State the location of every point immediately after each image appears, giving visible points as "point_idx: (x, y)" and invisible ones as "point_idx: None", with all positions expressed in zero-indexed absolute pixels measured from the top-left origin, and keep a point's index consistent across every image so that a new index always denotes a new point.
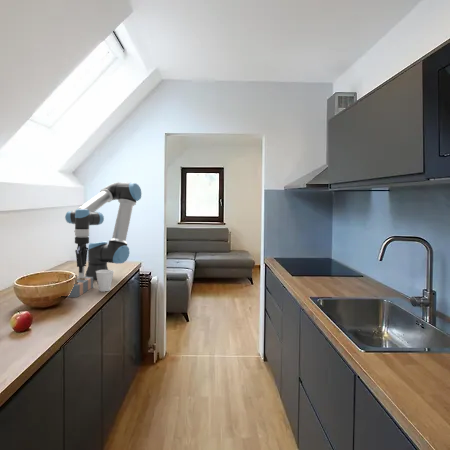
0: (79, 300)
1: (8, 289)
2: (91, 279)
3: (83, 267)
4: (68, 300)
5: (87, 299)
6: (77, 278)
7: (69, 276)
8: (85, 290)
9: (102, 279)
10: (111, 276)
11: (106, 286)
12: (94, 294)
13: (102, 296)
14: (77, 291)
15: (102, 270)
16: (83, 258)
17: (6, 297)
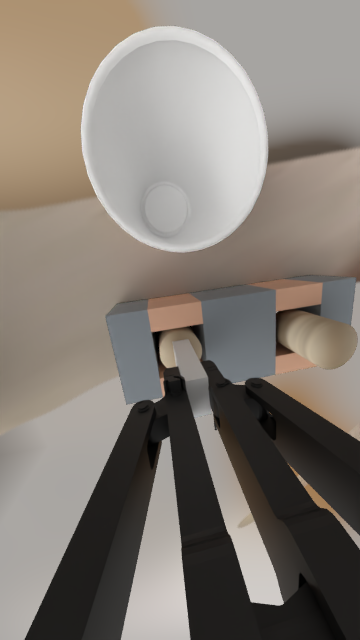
0: (354, 238)
1: (240, 523)
2: (138, 309)
3: (206, 374)
4: None
5: (338, 213)
6: None
7: (345, 357)
8: (220, 289)
9: (229, 176)
10: (186, 91)
11: (196, 173)
12: (252, 224)
13: (282, 165)
14: (323, 276)
15: (118, 216)
16: (205, 463)
17: None
